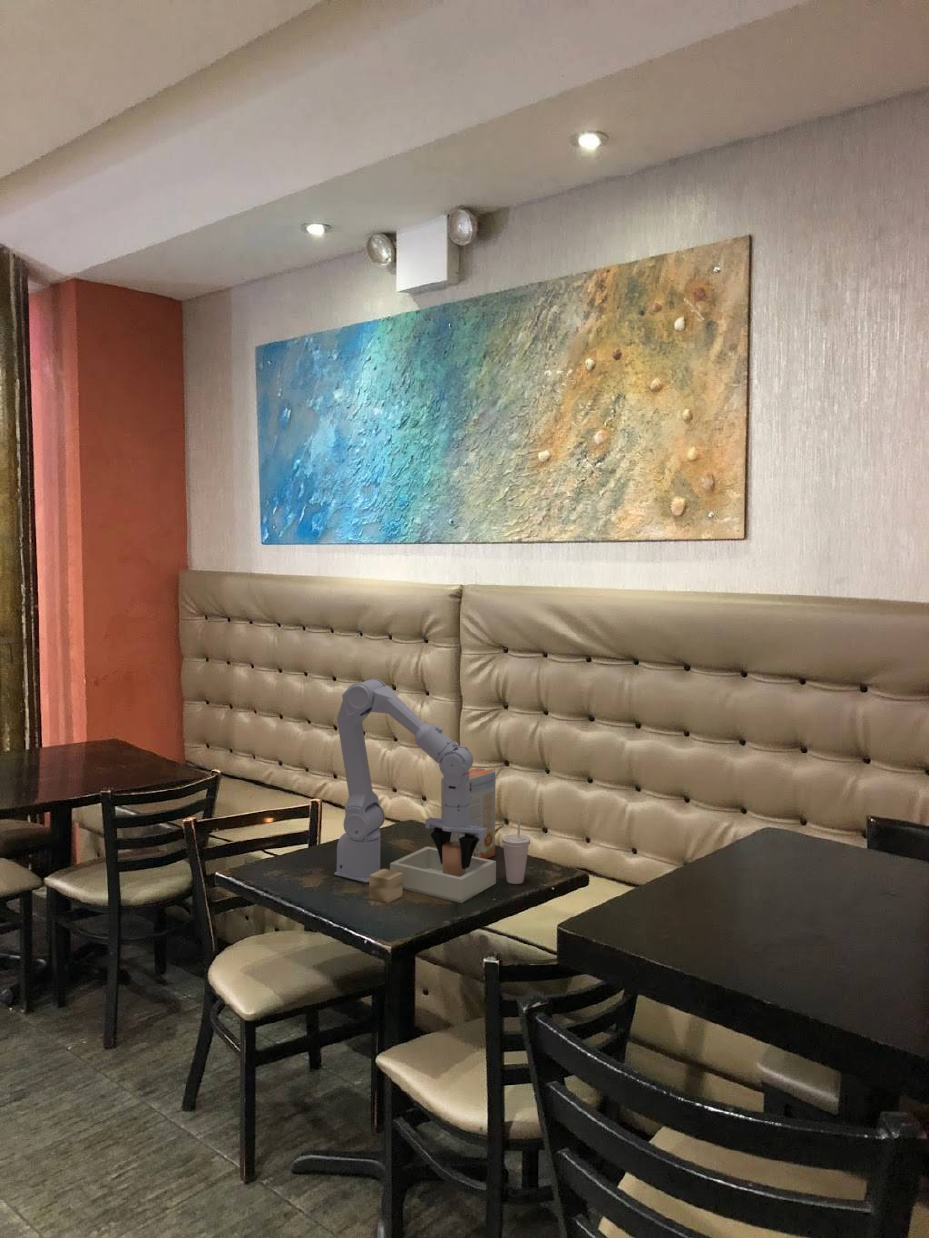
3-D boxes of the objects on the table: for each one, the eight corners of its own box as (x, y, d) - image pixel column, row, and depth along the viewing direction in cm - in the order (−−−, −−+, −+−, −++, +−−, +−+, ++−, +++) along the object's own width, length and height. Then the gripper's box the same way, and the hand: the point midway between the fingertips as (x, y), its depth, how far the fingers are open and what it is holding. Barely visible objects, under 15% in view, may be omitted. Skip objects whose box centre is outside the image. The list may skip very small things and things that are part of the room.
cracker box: (476, 851, 233) (477, 766, 232) (495, 856, 229) (497, 770, 228) (439, 865, 222) (440, 776, 221) (459, 870, 219) (460, 781, 217)
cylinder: (438, 878, 206) (437, 846, 206) (450, 870, 211) (450, 839, 210) (457, 882, 204) (457, 850, 203) (469, 874, 208) (469, 843, 207)
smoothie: (527, 887, 209) (528, 824, 208) (498, 884, 210) (499, 822, 209) (531, 877, 215) (532, 816, 214) (503, 874, 216) (504, 814, 215)
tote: (389, 885, 208) (390, 863, 208) (426, 867, 220) (426, 846, 220) (461, 903, 198) (461, 879, 198) (495, 883, 211) (496, 861, 210)
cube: (369, 898, 201) (369, 875, 200) (383, 891, 205) (383, 868, 205) (388, 903, 198) (388, 879, 198) (402, 896, 202) (402, 873, 202)
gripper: (417, 802, 207) (417, 863, 208) (475, 813, 199) (474, 876, 200) (435, 795, 213) (434, 855, 214) (492, 805, 205) (490, 867, 206)
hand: (454, 865), depth 207 cm, fingers closed on cylinder, 5 cm apart
